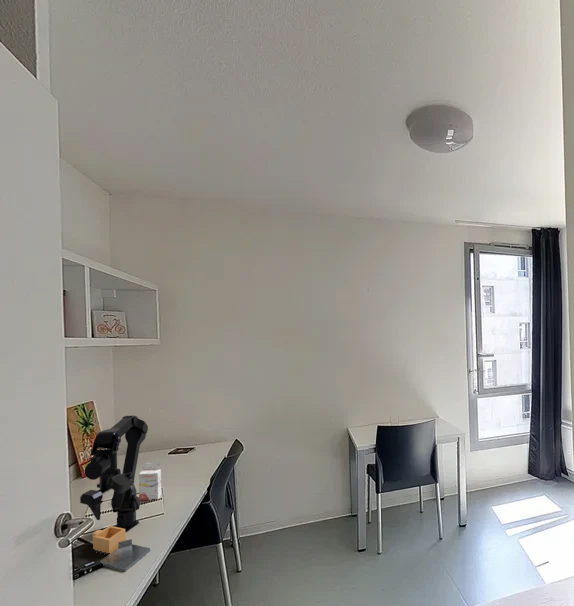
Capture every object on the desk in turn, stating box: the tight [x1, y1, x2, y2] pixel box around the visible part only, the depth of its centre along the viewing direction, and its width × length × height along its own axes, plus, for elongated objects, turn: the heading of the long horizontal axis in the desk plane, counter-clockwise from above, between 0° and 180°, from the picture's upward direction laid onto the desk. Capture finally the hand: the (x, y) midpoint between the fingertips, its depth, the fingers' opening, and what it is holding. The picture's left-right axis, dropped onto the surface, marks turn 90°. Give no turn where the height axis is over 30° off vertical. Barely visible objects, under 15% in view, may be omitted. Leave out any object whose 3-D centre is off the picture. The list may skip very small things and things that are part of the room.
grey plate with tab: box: [99, 538, 151, 573], centre depth 125 cm, size 11×11×4 cm
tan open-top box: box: [91, 525, 126, 553], centre depth 132 cm, size 7×10×5 cm
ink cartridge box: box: [138, 462, 162, 501], centre depth 169 cm, size 9×5×15 cm, turn 92°
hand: (109, 513), depth 132 cm, fingers open, 9 cm apart
